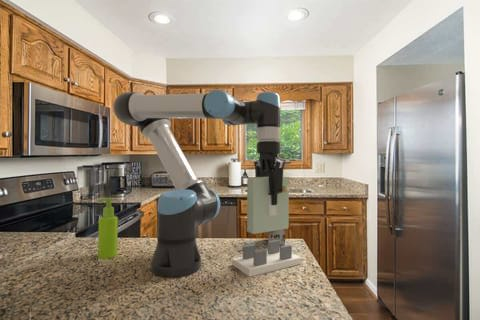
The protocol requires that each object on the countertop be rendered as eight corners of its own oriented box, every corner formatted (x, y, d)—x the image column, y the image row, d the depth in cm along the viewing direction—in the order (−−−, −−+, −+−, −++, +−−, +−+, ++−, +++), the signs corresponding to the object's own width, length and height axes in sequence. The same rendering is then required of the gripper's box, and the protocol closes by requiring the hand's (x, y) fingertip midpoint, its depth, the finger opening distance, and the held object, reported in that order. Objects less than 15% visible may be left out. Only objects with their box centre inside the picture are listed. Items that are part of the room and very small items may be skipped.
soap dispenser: (91, 258, 89) (92, 198, 89) (108, 251, 96) (109, 196, 96) (104, 260, 87) (105, 199, 87) (120, 254, 93) (121, 197, 94)
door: (256, 235, 79) (256, 178, 79) (247, 231, 83) (247, 177, 83) (291, 229, 86) (291, 177, 86) (281, 226, 90) (281, 176, 91)
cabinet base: (249, 276, 76) (249, 255, 76) (232, 265, 84) (232, 246, 85) (301, 263, 86) (301, 245, 86) (281, 254, 95) (281, 237, 95)
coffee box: (285, 245, 105) (286, 204, 105) (269, 245, 105) (269, 204, 106) (282, 238, 114) (282, 201, 115) (267, 238, 115) (267, 201, 115)
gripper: (294, 140, 80) (294, 217, 80) (262, 143, 95) (262, 209, 94) (275, 138, 77) (275, 220, 76) (245, 142, 91) (244, 211, 91)
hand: (268, 213), depth 85 cm, fingers closed on door, 3 cm apart
